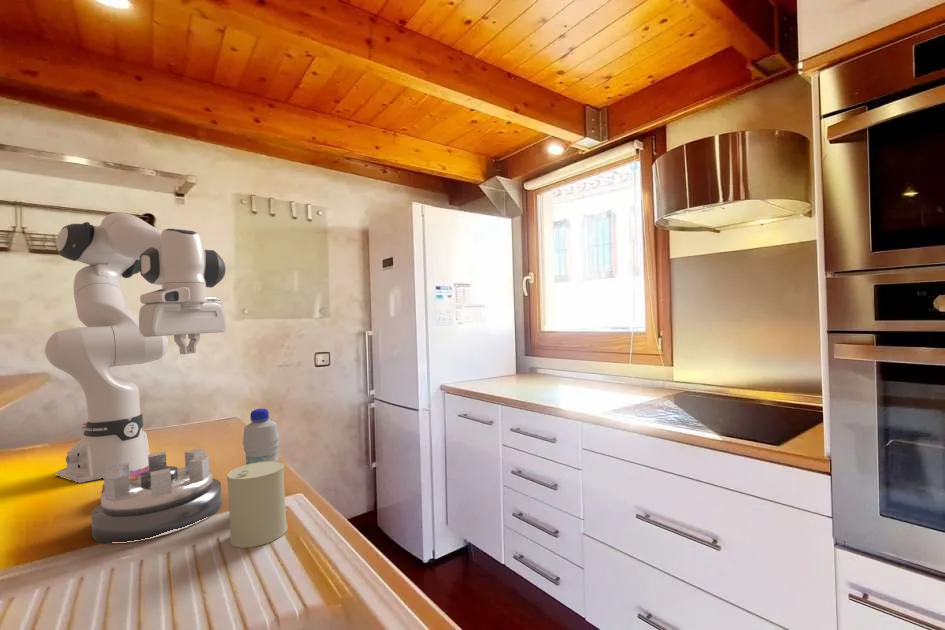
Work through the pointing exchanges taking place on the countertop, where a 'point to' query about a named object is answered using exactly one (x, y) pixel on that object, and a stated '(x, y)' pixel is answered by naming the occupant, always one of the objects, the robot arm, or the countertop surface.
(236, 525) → the can
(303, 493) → the countertop surface
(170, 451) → the countertop surface
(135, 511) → the toothed metal gear
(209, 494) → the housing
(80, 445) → the robot arm
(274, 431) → the bottle
